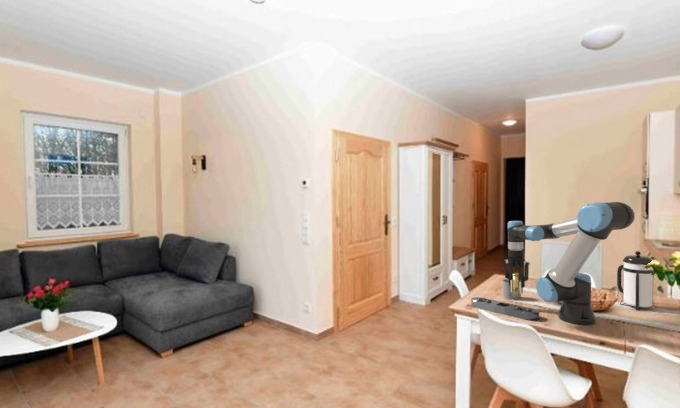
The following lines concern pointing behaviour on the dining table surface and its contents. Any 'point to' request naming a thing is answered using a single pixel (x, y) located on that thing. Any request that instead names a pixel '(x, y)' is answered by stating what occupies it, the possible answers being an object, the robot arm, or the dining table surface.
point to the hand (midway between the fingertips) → (516, 292)
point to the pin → (516, 284)
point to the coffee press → (636, 281)
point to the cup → (507, 291)
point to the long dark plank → (505, 308)
